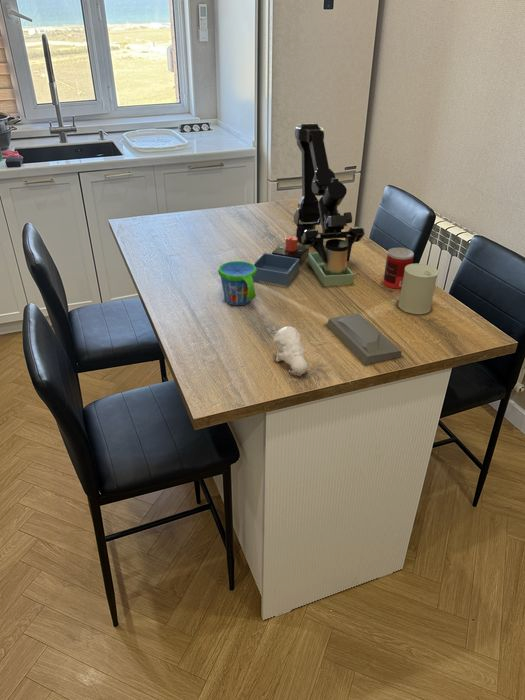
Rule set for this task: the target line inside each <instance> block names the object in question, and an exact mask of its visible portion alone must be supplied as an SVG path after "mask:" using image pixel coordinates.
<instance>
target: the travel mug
mask: <svg viewBox="0 0 525 700" xmlns="http://www.w3.org/2000/svg"><path fill="white" fill-rule="evenodd" d="M348 248H349V243H348V242H347V241H345V239H342V238H335V239H326V241H325V244H324V249H325V253H326V258H327V262H326V263H324V271H323V272H324V274H325V275H326V276H327V275H342V274H345V272H346V265H347V264H348V262H347V254H348Z"/></svg>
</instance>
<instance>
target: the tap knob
mask: <svg viewBox="0 0 525 700" xmlns="http://www.w3.org/2000/svg"><path fill="white" fill-rule="evenodd" d="M284 241H285V242H284V243H285V250H287V251H291V252H292V251H296V250H297V245H298V242H299V241H298V238H297V237H296V235H287V236H285V240H284Z"/></svg>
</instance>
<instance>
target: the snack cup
mask: <svg viewBox="0 0 525 700" xmlns="http://www.w3.org/2000/svg"><path fill="white" fill-rule="evenodd" d="M253 264H254V263H251V262H248V261H243V260H234V261H228V262H225V263H222V264H221V265H220V266H219V267H218V270H217V273H218V275H219V277H220V281H221V287H222V292H223V296H224V301H225V302H226V303H227V304H229V305H231V306H245V305H247V304H248V303H249V302H251V301H253V300H254V299H255V298H256V297H257V296H256V294H257V293H256V290H255V289H256V288H255V282H254V277H255V275H256V273H257V269H256V267H255V266H254V265H253Z"/></svg>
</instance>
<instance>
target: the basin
mask: <svg viewBox="0 0 525 700" xmlns="http://www.w3.org/2000/svg"><path fill="white" fill-rule="evenodd" d="M252 264H253V265H254V266H255V267H256V269H257V273H256V275H255V277H254V283H259V284H260V283H261V282H263V283H268V284H274V285H279V286H285V287H288V286H289V285H290V283H291V282H292V280H293V279H294V278H295V277H296V276H297V274H298V273H299V272H300V265H301V264H300V259H298V258H292V257H286V256H280V255H274V254H272V253H267V252H263V253H262V254H261V255H260V256H259V257H258V258H257V259H256V260H255V261H254V263H252Z"/></svg>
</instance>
